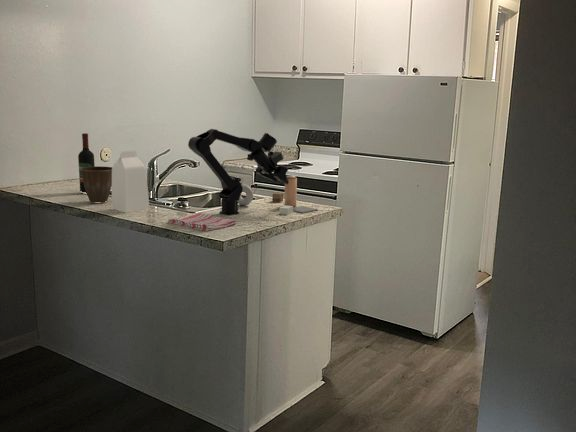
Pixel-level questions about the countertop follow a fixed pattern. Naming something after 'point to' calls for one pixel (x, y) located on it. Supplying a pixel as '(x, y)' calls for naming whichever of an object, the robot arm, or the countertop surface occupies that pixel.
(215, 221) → the dish towel
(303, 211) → the slate coaster
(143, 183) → the milk
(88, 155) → the wine bottle
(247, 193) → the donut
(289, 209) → the grey box
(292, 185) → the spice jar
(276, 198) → the walnut cube
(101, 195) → the plant pot
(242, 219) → the countertop surface
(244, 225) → the countertop surface
